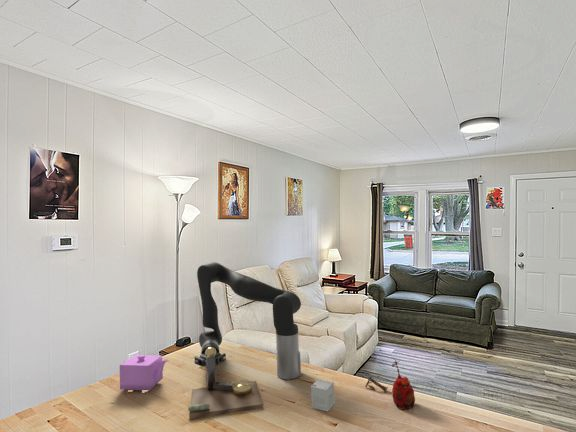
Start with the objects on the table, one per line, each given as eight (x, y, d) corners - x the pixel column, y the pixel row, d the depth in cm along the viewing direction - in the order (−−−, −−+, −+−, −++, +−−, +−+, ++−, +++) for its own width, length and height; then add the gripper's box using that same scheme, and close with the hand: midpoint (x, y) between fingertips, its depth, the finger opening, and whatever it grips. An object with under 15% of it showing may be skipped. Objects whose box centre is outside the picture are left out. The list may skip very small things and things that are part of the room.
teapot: (114, 393, 131) (113, 360, 132) (129, 381, 141) (129, 350, 142) (163, 395, 129) (162, 361, 129) (175, 382, 139) (175, 351, 139)
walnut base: (256, 384, 135) (255, 376, 135) (263, 408, 117) (262, 398, 117) (191, 393, 129) (190, 384, 129) (188, 419, 112) (187, 409, 112)
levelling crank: (254, 387, 129) (253, 345, 129) (248, 396, 122) (246, 352, 123) (210, 383, 133) (209, 343, 133) (202, 392, 126) (201, 350, 126)
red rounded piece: (406, 413, 111) (404, 366, 112) (387, 405, 117) (386, 360, 117) (419, 404, 116) (417, 359, 116) (400, 397, 121) (398, 354, 122)
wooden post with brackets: (363, 384, 130) (368, 373, 130) (383, 396, 127) (388, 386, 126) (362, 386, 129) (366, 375, 128) (382, 399, 125) (387, 388, 125)
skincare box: (335, 403, 119) (334, 382, 119) (327, 412, 113) (326, 389, 113) (318, 399, 122) (318, 378, 122) (311, 408, 116) (310, 385, 117)
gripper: (194, 343, 146) (191, 359, 129) (225, 340, 149) (227, 355, 132) (194, 361, 146) (192, 379, 129) (226, 358, 149) (228, 374, 132)
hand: (210, 367), depth 131 cm, fingers closed
